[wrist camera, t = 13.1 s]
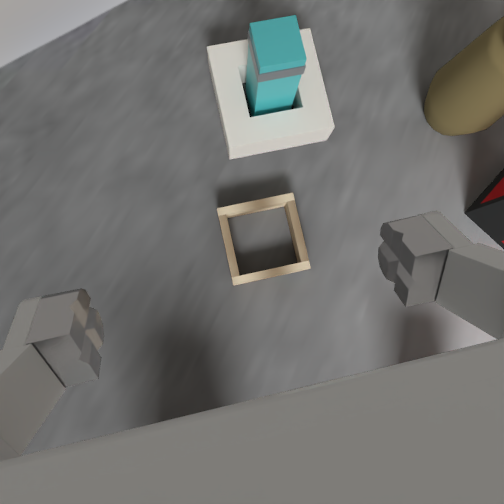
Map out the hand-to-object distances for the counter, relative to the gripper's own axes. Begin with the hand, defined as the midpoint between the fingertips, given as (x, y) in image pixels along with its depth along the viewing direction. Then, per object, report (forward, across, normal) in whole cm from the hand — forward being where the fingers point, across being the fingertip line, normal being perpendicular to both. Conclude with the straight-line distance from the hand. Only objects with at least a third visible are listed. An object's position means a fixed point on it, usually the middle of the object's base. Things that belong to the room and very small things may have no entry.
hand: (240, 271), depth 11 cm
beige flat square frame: (+25, -4, +19) cm, 32 cm away
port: (+36, -8, +8) cm, 38 cm away
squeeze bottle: (+32, -28, +12) cm, 44 cm away
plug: (+36, -8, +8) cm, 38 cm away
